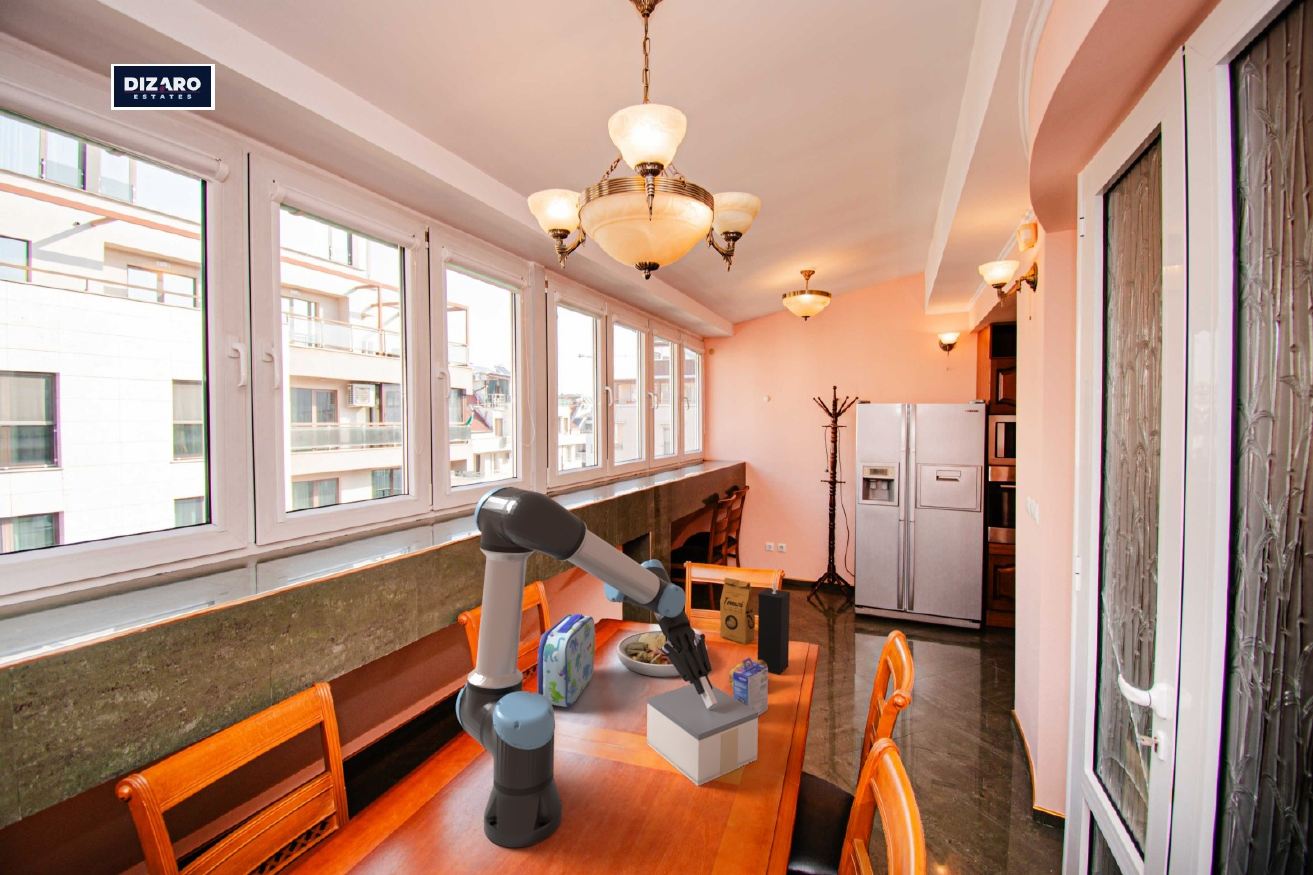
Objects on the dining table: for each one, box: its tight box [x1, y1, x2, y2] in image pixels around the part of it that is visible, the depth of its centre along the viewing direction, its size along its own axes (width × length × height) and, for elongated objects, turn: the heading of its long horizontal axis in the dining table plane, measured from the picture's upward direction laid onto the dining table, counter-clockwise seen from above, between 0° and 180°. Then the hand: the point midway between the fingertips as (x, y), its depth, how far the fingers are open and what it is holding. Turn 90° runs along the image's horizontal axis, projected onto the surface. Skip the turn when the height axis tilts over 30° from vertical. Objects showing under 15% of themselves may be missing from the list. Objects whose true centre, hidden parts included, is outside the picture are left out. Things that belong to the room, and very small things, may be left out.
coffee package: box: [719, 577, 756, 646], centre depth 211 cm, size 10×12×22 cm
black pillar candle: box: [757, 582, 791, 676], centre depth 186 cm, size 8×8×28 cm
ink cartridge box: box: [732, 657, 769, 717], centre depth 157 cm, size 10×6×14 cm, turn 137°
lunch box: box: [537, 613, 596, 708], centre depth 168 cm, size 26×11×21 cm, turn 168°
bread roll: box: [728, 659, 767, 690], centre depth 173 cm, size 13×10×8 cm
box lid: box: [646, 683, 759, 740], centre depth 138 cm, size 20×18×1 cm
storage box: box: [646, 703, 759, 787], centre depth 138 cm, size 20×18×10 cm
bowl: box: [616, 630, 708, 678], centre depth 192 cm, size 30×30×8 cm
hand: (712, 705), depth 136 cm, fingers closed
